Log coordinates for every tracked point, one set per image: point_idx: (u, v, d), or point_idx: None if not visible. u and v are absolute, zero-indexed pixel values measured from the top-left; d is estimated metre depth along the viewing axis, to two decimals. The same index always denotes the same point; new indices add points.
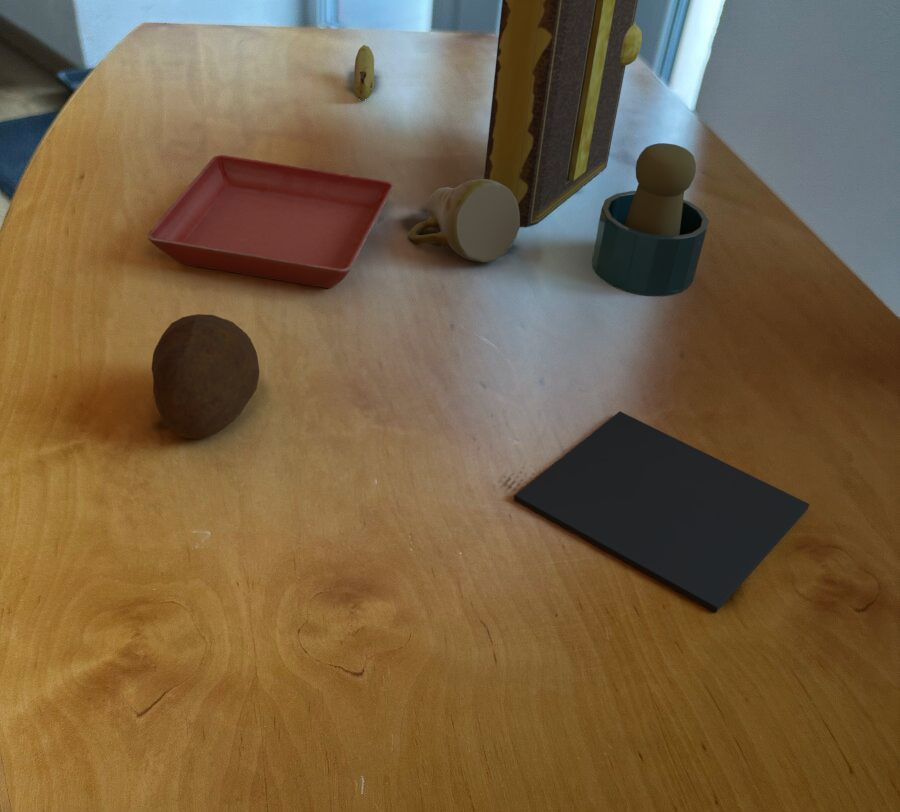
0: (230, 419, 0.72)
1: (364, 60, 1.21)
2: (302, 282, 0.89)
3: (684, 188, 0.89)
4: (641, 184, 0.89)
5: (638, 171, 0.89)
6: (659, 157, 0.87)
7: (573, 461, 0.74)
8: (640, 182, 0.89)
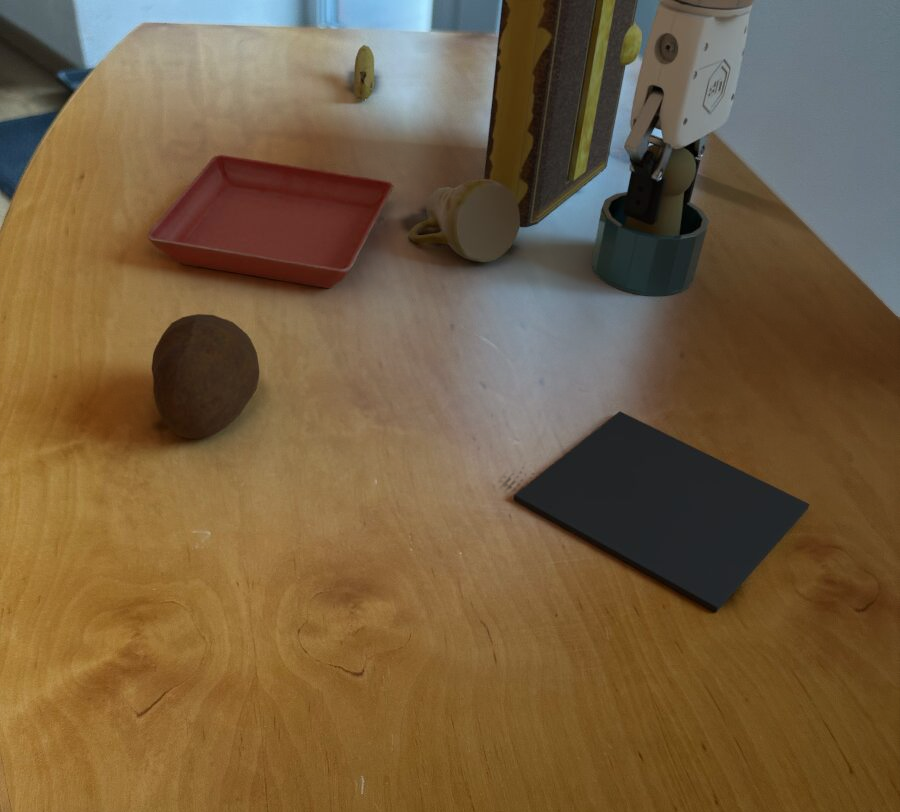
0: (230, 419, 0.72)
1: (364, 60, 1.21)
2: (302, 282, 0.89)
3: (684, 188, 0.89)
4: None
5: None
6: None
7: (573, 461, 0.74)
8: None
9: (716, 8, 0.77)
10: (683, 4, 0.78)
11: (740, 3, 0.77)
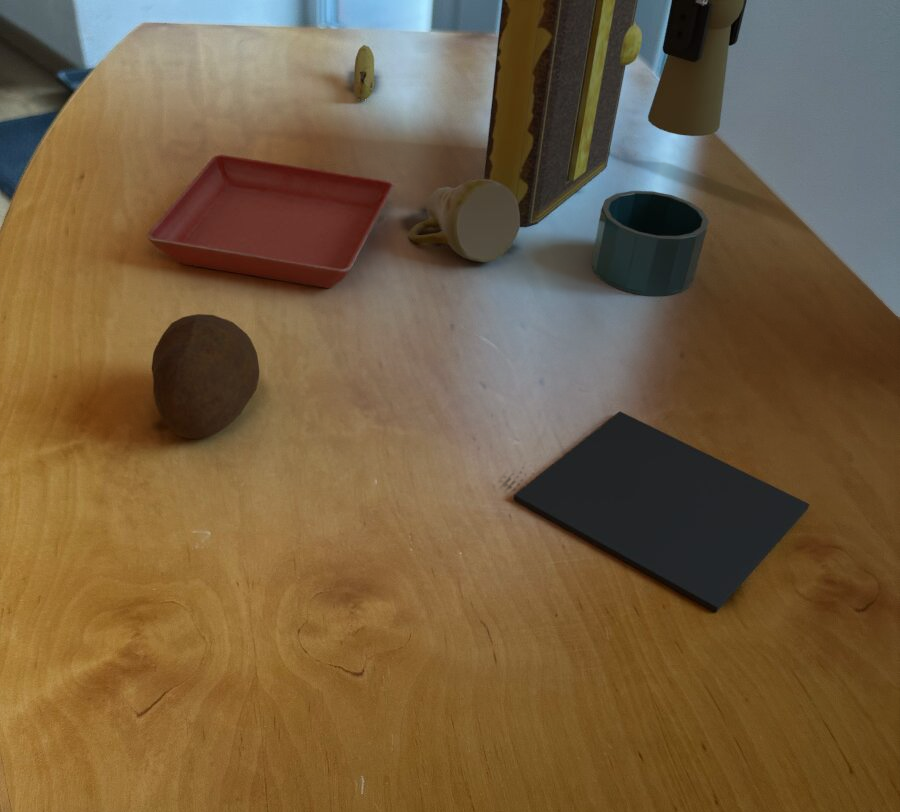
0: (230, 419, 0.72)
1: (364, 60, 1.21)
2: (302, 282, 0.89)
3: (731, 18, 0.79)
4: None
5: None
6: None
7: (573, 461, 0.74)
8: None
9: None
10: None
11: None
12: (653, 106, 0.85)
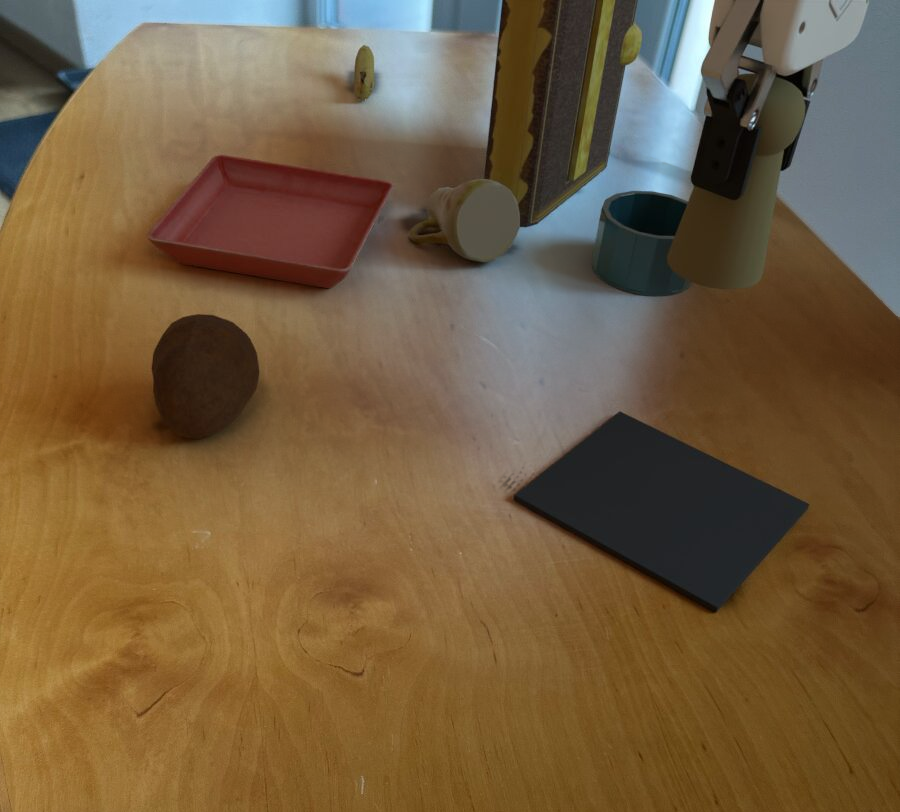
0: (230, 419, 0.72)
1: (364, 60, 1.21)
2: (302, 282, 0.89)
3: (787, 142, 0.57)
4: None
5: None
6: (750, 92, 0.56)
7: (573, 461, 0.74)
8: None
9: None
10: None
11: None
12: (675, 246, 0.63)
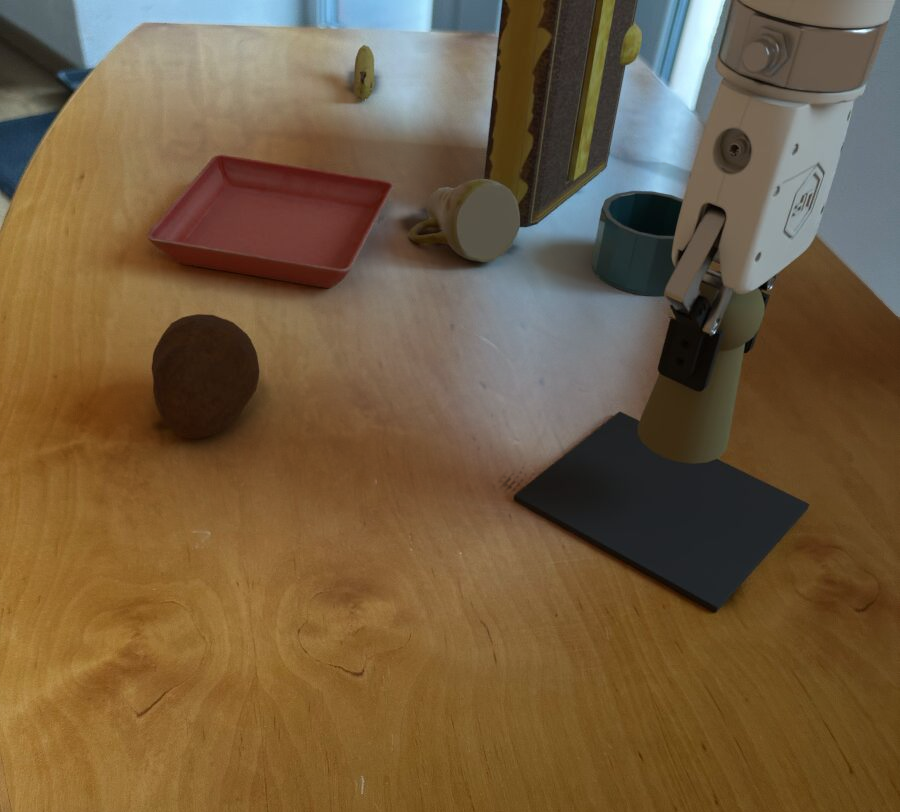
0: (230, 419, 0.72)
1: (364, 60, 1.21)
2: (302, 282, 0.89)
3: (747, 339, 0.60)
4: None
5: None
6: (712, 297, 0.59)
7: (573, 461, 0.74)
8: None
9: (814, 91, 0.49)
10: (761, 84, 0.49)
11: (851, 83, 0.49)
12: (644, 420, 0.66)
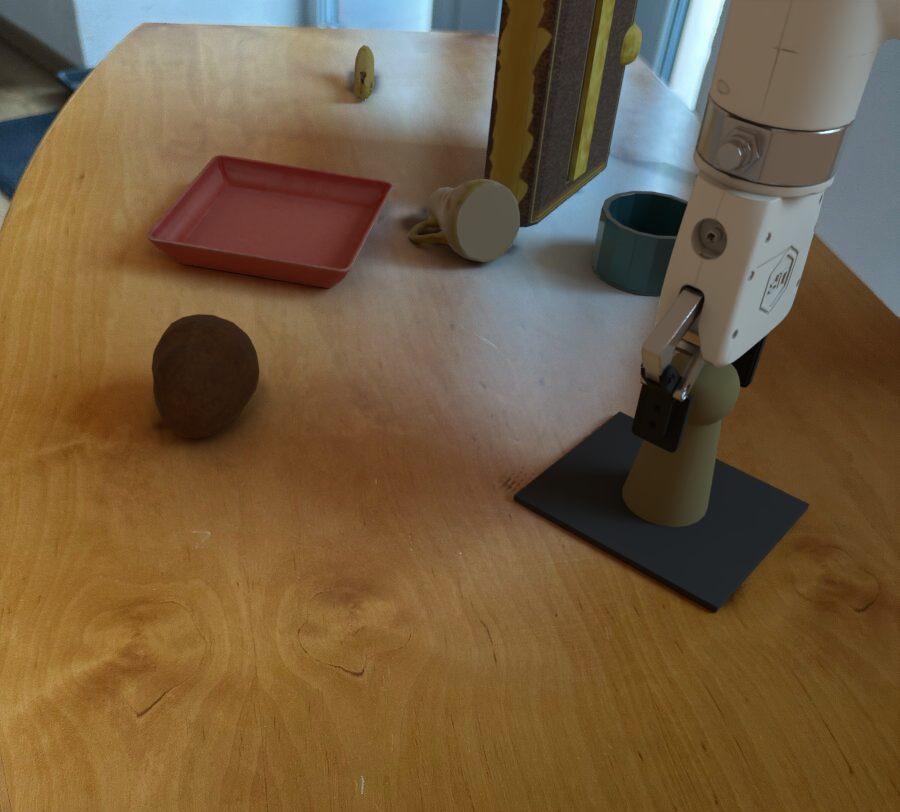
0: (230, 419, 0.72)
1: (364, 60, 1.21)
2: (302, 282, 0.89)
3: (724, 416, 0.64)
4: None
5: None
6: None
7: (573, 461, 0.74)
8: None
9: (785, 186, 0.52)
10: (735, 178, 0.52)
11: (820, 177, 0.52)
12: (628, 485, 0.70)
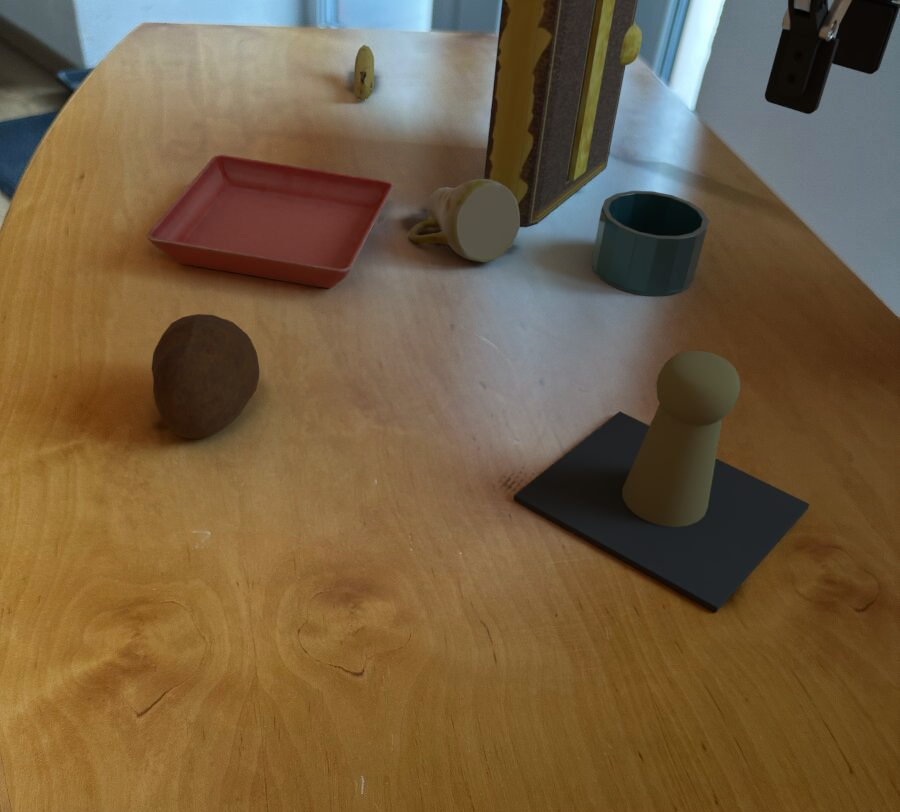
0: (230, 419, 0.72)
1: (364, 60, 1.21)
2: (302, 282, 0.89)
3: (724, 416, 0.64)
4: (664, 408, 0.65)
5: (661, 391, 0.64)
6: (691, 377, 0.63)
7: (573, 461, 0.74)
8: (663, 405, 0.65)
9: None
10: None
11: None
12: (628, 485, 0.70)
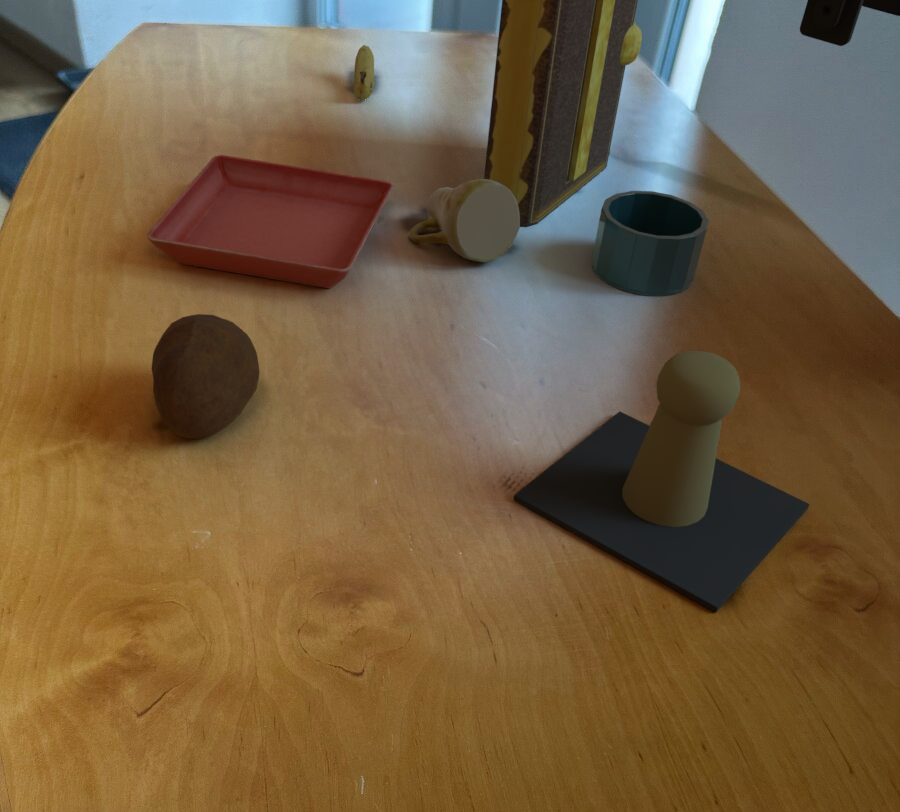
0: (230, 419, 0.72)
1: (364, 60, 1.21)
2: (302, 282, 0.89)
3: (724, 415, 0.64)
4: (664, 408, 0.65)
5: (661, 391, 0.64)
6: (691, 377, 0.63)
7: (573, 461, 0.74)
8: (663, 405, 0.65)
9: None
10: None
11: None
12: (628, 485, 0.70)
